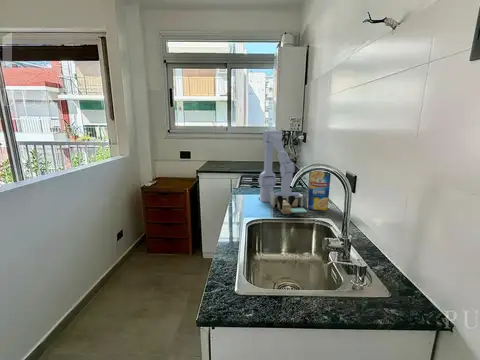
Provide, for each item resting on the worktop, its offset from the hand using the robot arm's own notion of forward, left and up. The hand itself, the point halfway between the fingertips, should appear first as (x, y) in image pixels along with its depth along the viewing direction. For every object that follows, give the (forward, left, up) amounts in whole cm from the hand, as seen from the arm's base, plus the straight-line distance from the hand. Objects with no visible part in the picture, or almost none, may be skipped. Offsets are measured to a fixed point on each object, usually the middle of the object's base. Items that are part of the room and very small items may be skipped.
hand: (285, 209), depth 147 cm
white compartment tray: (-13, +4, -1) cm, 13 cm away
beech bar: (-2, 0, -1) cm, 3 cm away
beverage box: (-6, +21, -2) cm, 22 cm away
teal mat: (-2, +8, -1) cm, 8 cm away
